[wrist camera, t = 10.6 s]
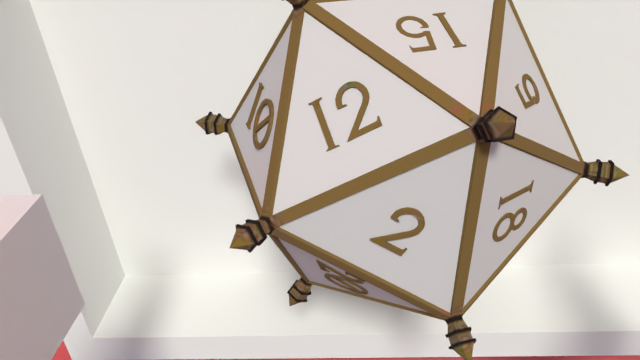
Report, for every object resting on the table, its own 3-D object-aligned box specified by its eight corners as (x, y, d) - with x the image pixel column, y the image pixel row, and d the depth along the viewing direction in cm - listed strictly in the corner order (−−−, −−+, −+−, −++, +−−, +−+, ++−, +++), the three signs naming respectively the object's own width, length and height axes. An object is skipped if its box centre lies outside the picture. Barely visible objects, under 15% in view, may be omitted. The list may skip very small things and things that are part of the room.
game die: (433, 71, 21) (549, 360, 16) (184, 101, 19) (246, 438, 14) (561, -184, 13) (841, 242, 9) (159, -179, 11) (277, 376, 7)
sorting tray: (697, 264, 21) (761, 354, 17) (116, 279, 23) (72, 360, 20) (876, -339, 12) (1064, -393, 9) (-62, -217, 15) (-191, -223, 11)
